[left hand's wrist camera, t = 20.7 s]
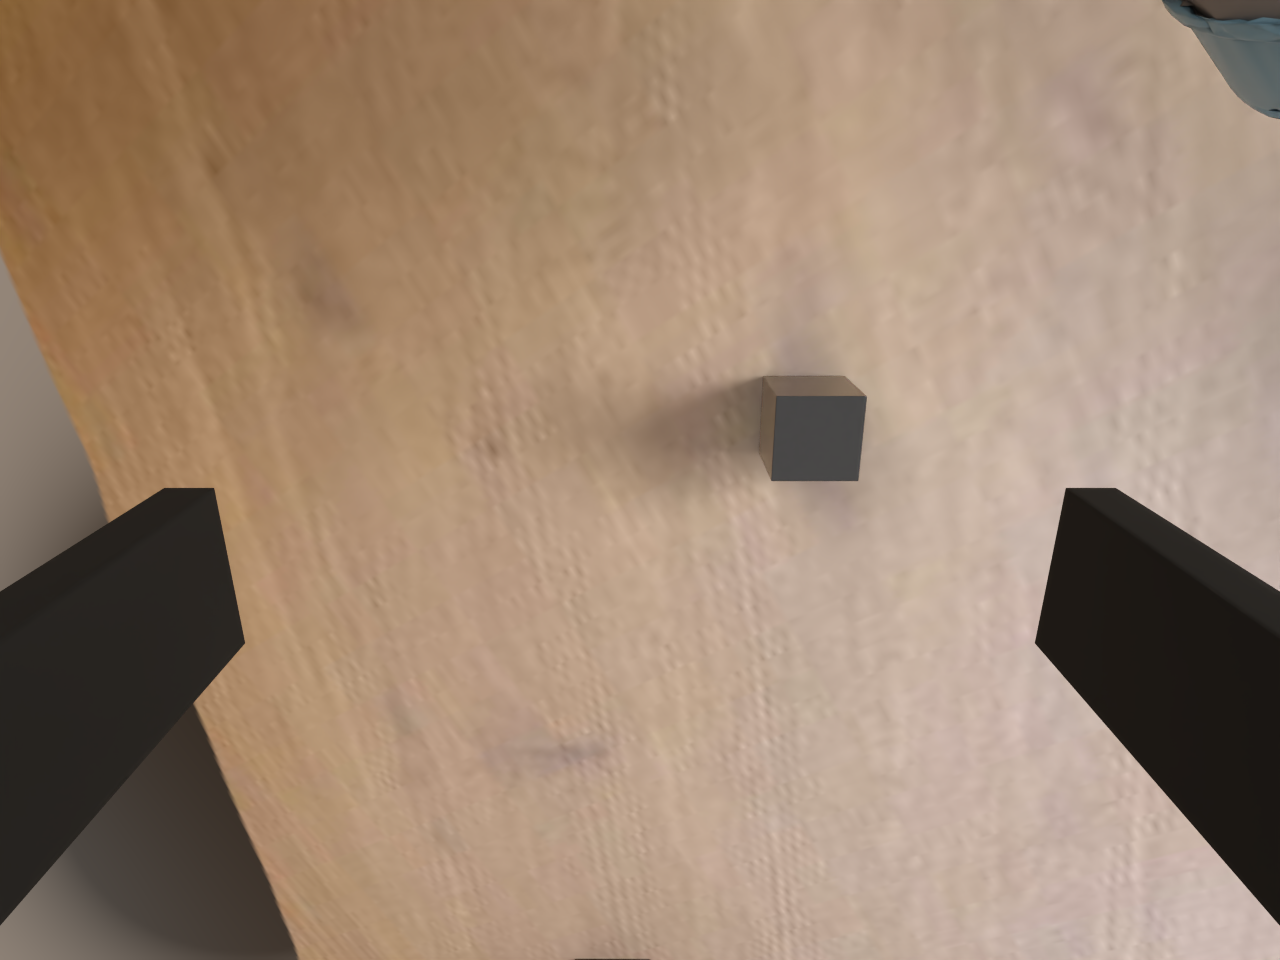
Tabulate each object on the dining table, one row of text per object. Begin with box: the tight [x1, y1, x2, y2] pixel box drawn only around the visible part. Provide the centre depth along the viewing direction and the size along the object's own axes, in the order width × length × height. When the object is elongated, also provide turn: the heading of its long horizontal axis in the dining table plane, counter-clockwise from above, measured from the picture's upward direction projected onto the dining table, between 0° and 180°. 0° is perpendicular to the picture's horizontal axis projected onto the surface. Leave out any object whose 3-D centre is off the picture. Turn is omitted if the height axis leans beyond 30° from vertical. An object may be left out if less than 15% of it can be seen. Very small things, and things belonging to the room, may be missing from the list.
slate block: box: [759, 376, 867, 481], centre depth 37 cm, size 4×4×4 cm
